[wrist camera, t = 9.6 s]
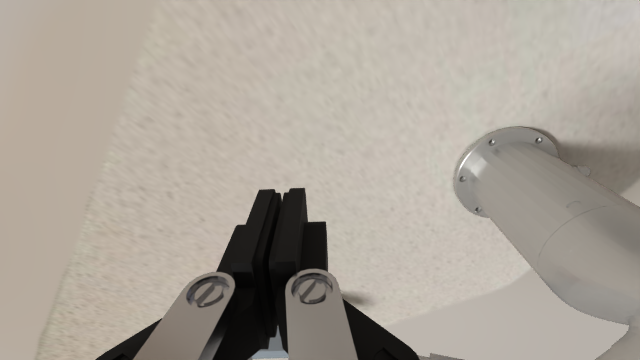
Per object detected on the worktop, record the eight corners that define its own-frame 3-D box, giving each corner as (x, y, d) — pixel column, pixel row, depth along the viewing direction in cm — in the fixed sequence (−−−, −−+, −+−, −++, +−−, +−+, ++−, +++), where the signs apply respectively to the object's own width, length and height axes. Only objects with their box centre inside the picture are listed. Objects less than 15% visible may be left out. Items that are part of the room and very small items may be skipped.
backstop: (321, 325, 54) (320, 349, 50) (321, 332, 55) (321, 357, 51) (229, 328, 54) (222, 352, 50) (231, 334, 55) (224, 359, 51)
